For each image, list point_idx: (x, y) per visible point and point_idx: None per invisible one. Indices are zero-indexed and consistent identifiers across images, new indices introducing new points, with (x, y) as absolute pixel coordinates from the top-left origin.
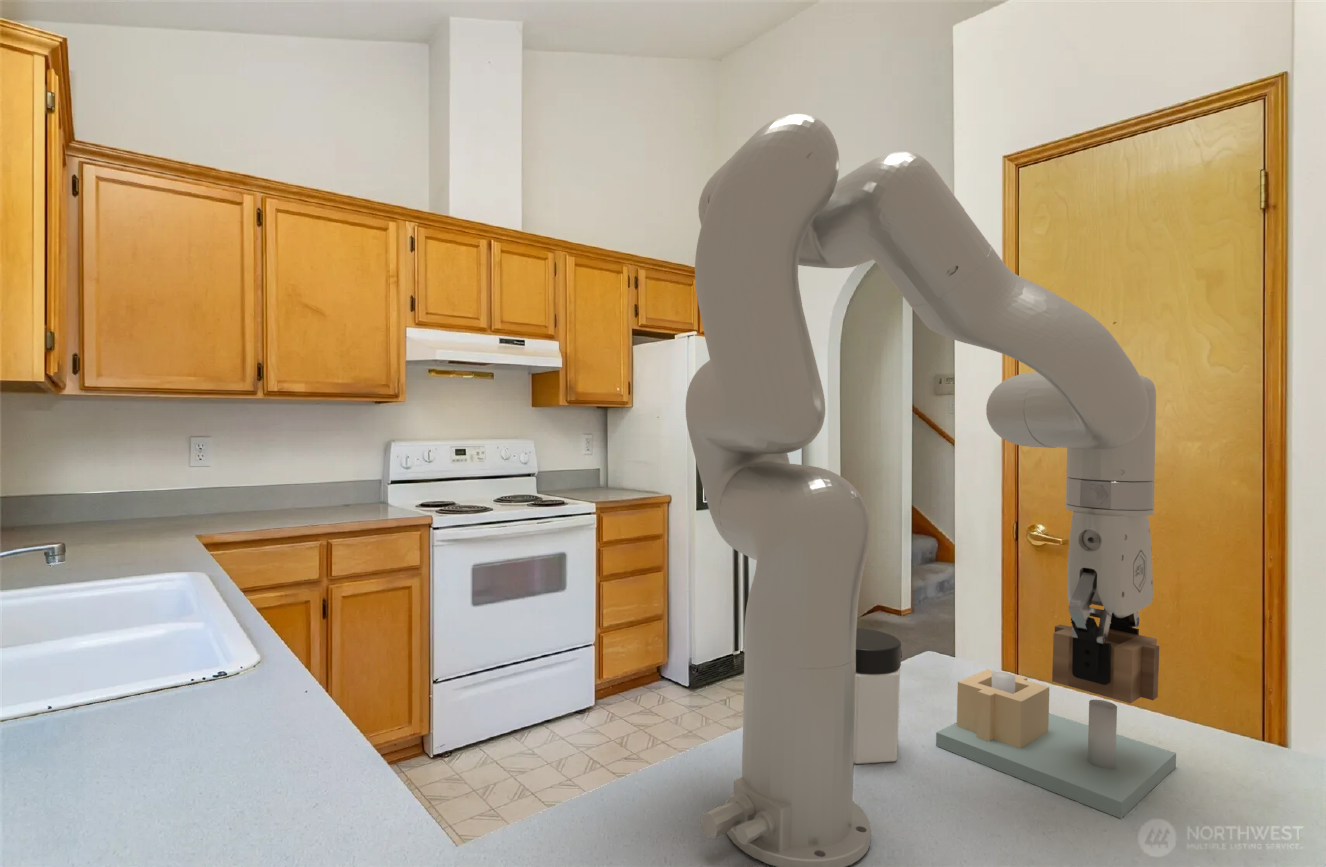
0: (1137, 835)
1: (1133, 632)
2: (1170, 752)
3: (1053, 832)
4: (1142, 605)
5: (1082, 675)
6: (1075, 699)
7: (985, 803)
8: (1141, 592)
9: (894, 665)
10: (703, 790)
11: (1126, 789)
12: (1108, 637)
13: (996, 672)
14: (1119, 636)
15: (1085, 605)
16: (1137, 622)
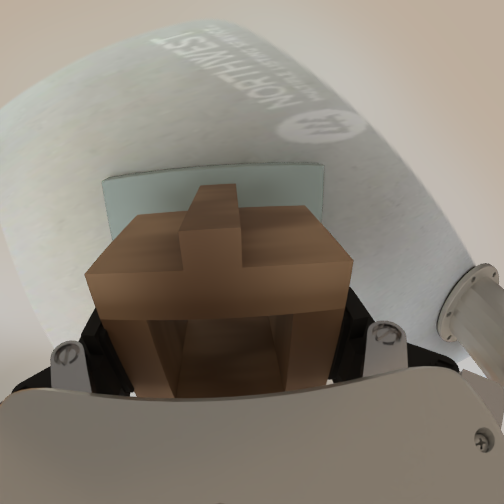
0: (339, 140)
1: (106, 336)
2: (106, 185)
3: (391, 199)
4: (156, 417)
5: None
6: (52, 319)
7: (383, 260)
8: (180, 498)
9: None
10: (453, 348)
11: (283, 173)
12: (167, 361)
13: None
14: (159, 348)
15: (495, 403)
16: (64, 352)
